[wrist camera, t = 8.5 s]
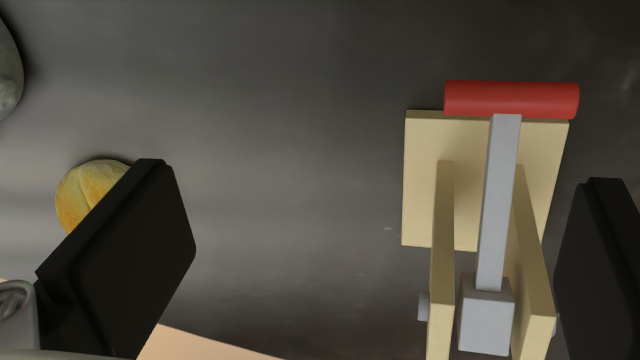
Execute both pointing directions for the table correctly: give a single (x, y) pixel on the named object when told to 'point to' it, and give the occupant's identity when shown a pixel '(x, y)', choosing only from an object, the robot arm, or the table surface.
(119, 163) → the bread roll
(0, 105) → the dish
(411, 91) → the table surface
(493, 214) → the lever
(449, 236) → the bracket
